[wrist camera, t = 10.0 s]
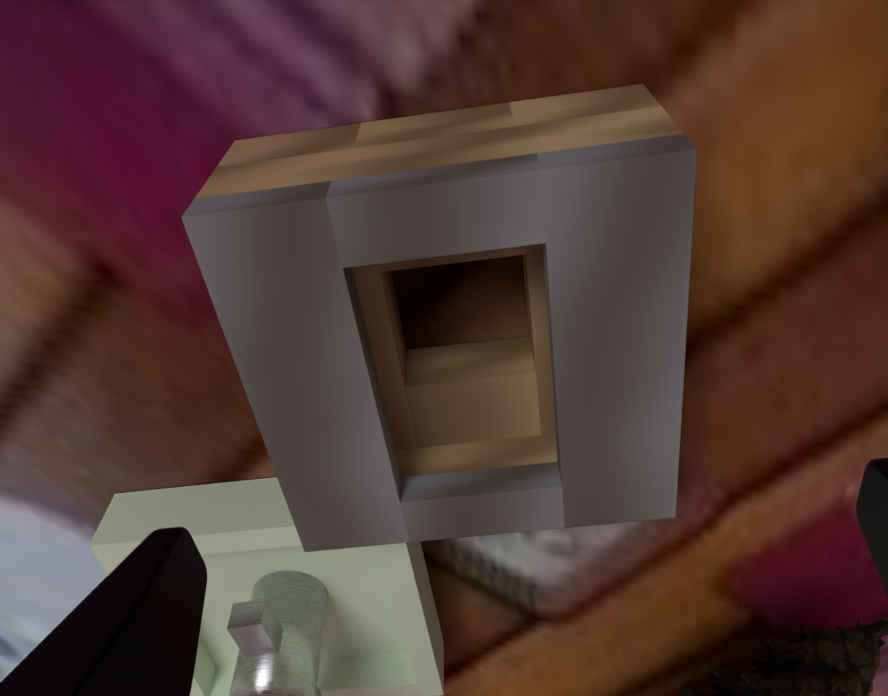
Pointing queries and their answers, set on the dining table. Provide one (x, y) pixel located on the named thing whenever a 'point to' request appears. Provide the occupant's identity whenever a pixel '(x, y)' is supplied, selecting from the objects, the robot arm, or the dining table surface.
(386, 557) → the tray
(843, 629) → the pine cone
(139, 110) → the dining table surface
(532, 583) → the dining table surface
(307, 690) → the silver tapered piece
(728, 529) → the dining table surface
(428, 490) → the block
